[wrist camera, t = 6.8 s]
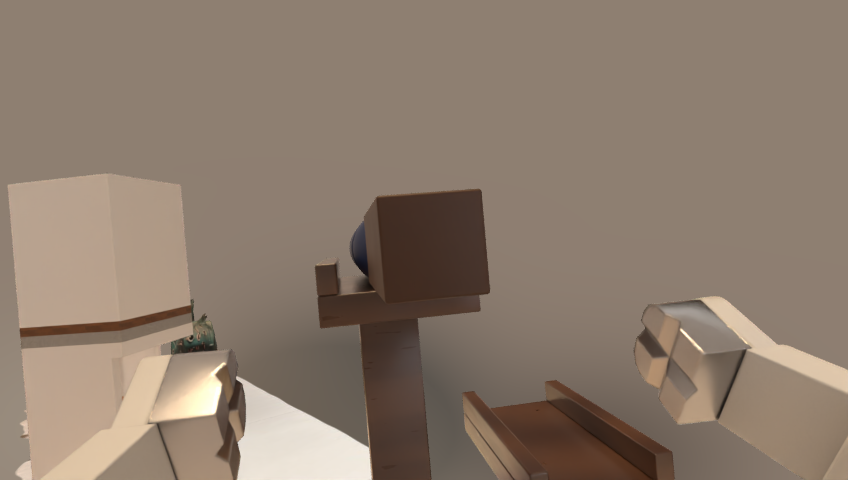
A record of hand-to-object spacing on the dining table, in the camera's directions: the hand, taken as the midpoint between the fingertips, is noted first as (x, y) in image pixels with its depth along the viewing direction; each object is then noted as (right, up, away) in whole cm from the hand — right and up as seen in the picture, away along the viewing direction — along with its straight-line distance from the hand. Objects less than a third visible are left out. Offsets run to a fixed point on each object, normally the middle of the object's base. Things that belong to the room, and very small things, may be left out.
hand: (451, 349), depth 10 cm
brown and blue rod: (-2, 0, +13) cm, 13 cm away
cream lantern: (-32, -27, +45) cm, 61 cm away
